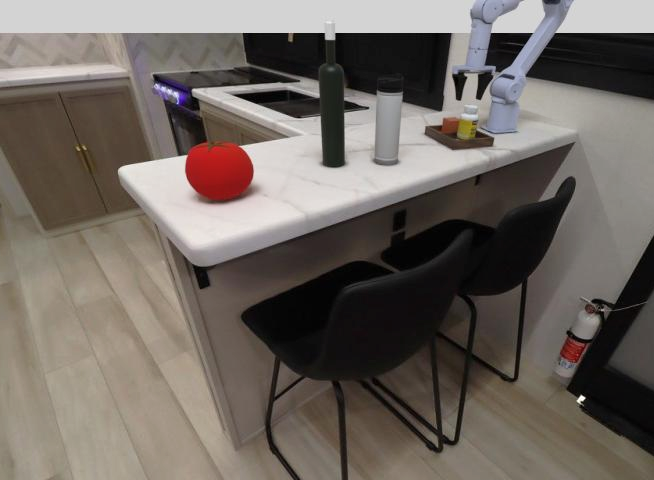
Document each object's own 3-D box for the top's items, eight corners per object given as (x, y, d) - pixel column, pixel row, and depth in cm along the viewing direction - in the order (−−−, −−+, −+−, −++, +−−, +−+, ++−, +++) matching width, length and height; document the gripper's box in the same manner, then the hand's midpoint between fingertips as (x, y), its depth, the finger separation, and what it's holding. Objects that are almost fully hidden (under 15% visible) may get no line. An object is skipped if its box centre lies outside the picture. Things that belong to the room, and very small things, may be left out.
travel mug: (403, 161, 101) (410, 75, 89) (387, 166, 97) (392, 77, 85) (385, 155, 104) (390, 72, 92) (369, 161, 100) (372, 74, 88)
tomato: (180, 198, 78) (164, 143, 71) (229, 180, 87) (219, 129, 80) (220, 213, 73) (207, 155, 67) (267, 191, 82) (260, 138, 76)
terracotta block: (452, 131, 124) (455, 117, 121) (460, 135, 121) (462, 120, 118) (441, 132, 123) (443, 117, 120) (448, 136, 120) (450, 121, 117)
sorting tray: (461, 131, 128) (462, 123, 126) (492, 146, 115) (494, 137, 113) (424, 134, 124) (425, 125, 122) (453, 150, 110) (454, 141, 109)
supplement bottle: (470, 144, 113) (477, 108, 107) (453, 141, 115) (459, 106, 109) (476, 140, 116) (483, 105, 110) (459, 137, 119) (465, 103, 112)
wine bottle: (349, 164, 98) (348, 20, 80) (332, 169, 95) (327, 20, 76) (335, 158, 101) (331, 19, 83) (318, 163, 98) (310, 19, 80)
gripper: (489, 48, 117) (480, 97, 125) (449, 47, 112) (442, 98, 121) (504, 50, 112) (492, 101, 120) (462, 49, 107) (454, 102, 116)
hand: (468, 100), depth 120 cm, fingers open, 7 cm apart
